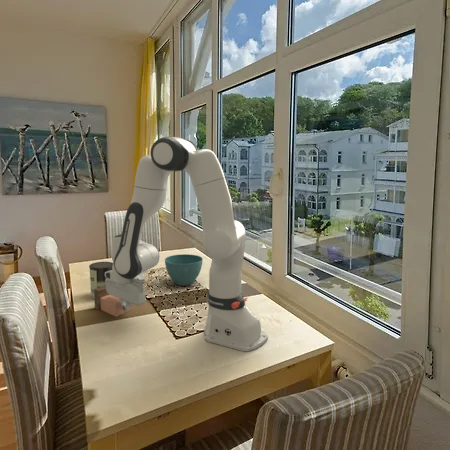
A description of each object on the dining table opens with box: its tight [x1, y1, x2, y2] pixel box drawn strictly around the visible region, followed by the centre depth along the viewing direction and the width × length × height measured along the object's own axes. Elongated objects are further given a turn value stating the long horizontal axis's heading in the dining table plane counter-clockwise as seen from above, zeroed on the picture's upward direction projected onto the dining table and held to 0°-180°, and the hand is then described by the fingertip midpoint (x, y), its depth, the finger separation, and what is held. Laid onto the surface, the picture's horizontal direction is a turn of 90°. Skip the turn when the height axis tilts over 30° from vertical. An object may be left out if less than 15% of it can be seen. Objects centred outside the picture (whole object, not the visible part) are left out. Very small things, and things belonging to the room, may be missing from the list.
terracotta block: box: [100, 295, 134, 317], centre depth 143 cm, size 10×8×5 cm
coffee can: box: [88, 261, 113, 299], centre depth 157 cm, size 10×10×14 cm
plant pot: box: [164, 253, 204, 287], centre depth 175 cm, size 18×18×12 cm
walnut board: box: [94, 278, 139, 311], centre depth 150 cm, size 3×20×8 cm, turn 142°
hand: (125, 309), depth 138 cm, fingers closed
